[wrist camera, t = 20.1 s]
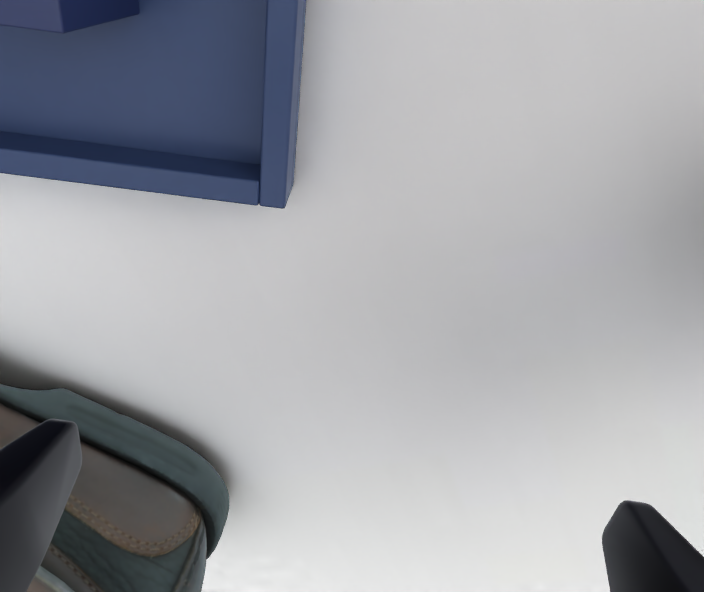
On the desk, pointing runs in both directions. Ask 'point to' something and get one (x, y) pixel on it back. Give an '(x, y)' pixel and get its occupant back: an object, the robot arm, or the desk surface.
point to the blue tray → (160, 100)
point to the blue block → (64, 13)
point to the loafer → (123, 501)
